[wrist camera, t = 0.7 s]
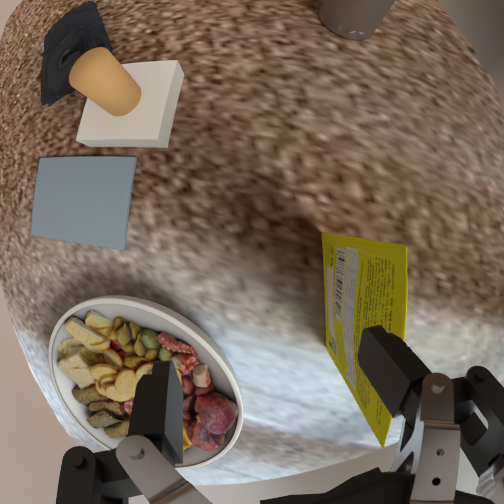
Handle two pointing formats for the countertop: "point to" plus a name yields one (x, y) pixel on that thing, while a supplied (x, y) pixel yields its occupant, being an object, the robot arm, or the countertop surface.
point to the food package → (363, 310)
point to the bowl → (135, 365)
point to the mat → (84, 199)
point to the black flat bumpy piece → (69, 49)
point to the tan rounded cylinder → (105, 82)
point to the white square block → (137, 110)
